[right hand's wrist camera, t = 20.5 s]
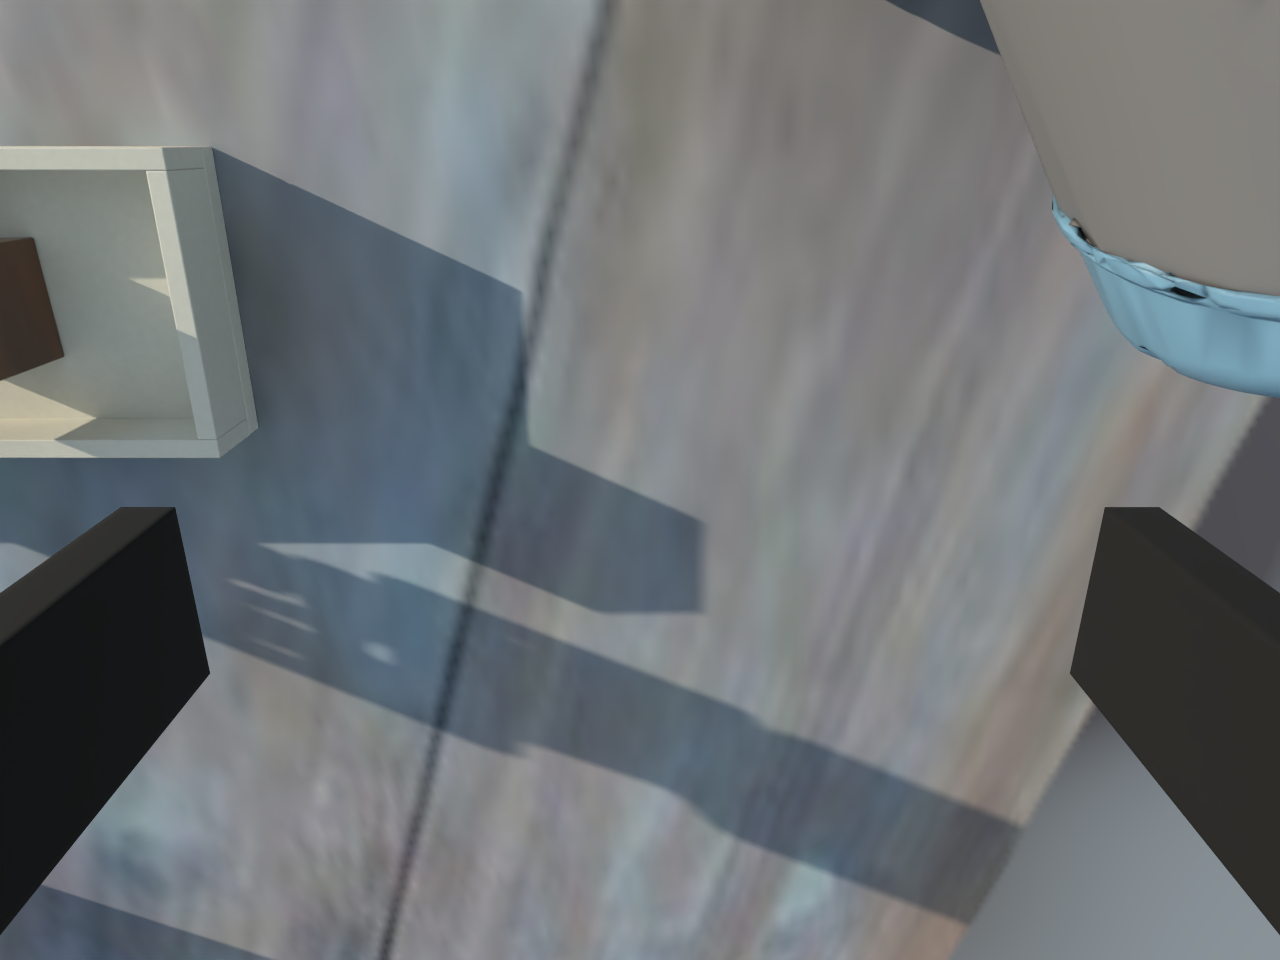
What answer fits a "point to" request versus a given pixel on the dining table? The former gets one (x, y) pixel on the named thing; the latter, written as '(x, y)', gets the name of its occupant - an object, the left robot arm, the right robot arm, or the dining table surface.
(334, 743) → the dining table surface
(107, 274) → the tray
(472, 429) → the dining table surface
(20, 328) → the walnut block
